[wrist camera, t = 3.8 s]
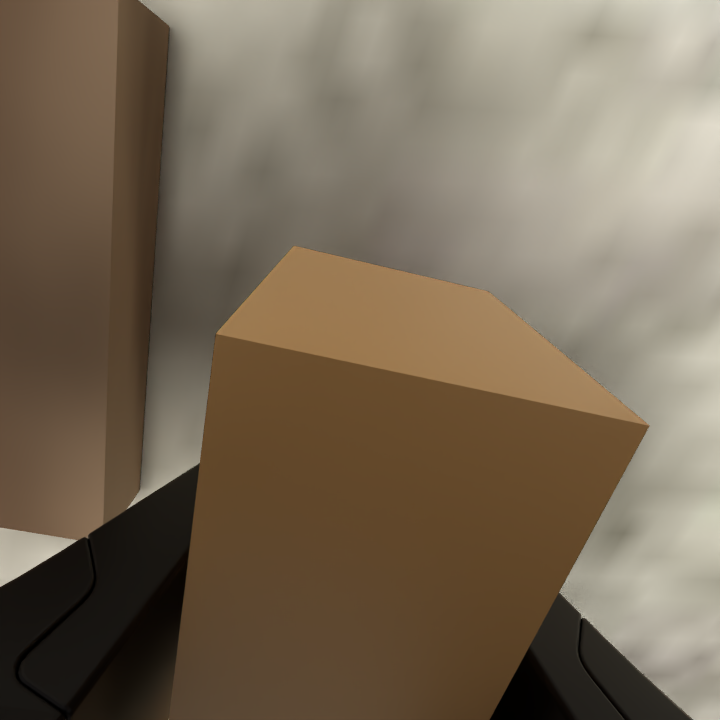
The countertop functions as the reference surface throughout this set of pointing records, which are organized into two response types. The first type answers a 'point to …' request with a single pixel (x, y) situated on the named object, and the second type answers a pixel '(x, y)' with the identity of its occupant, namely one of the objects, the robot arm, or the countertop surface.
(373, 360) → the tan wooden block
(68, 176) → the brown slotted square board
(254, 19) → the countertop surface
